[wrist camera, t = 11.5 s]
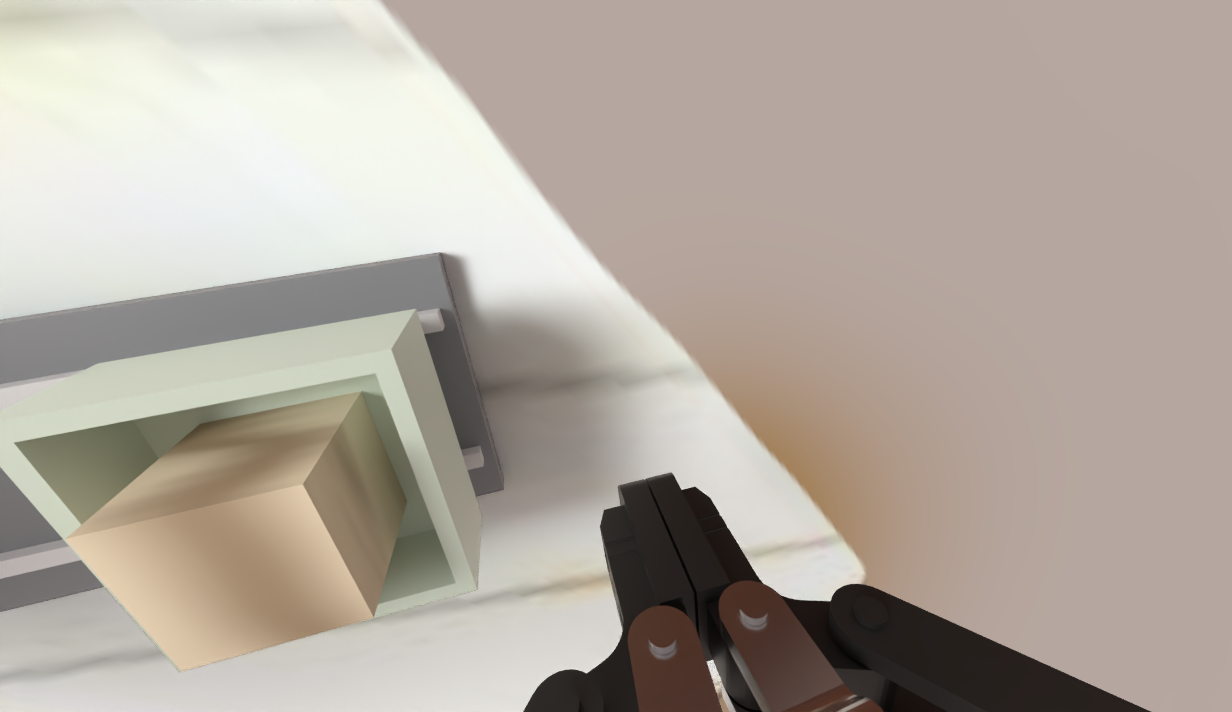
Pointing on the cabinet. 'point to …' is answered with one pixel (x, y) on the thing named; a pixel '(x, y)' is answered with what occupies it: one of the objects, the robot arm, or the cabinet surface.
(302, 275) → the track
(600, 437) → the cabinet surface
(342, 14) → the cabinet surface
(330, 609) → the block
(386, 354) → the mint green tray
